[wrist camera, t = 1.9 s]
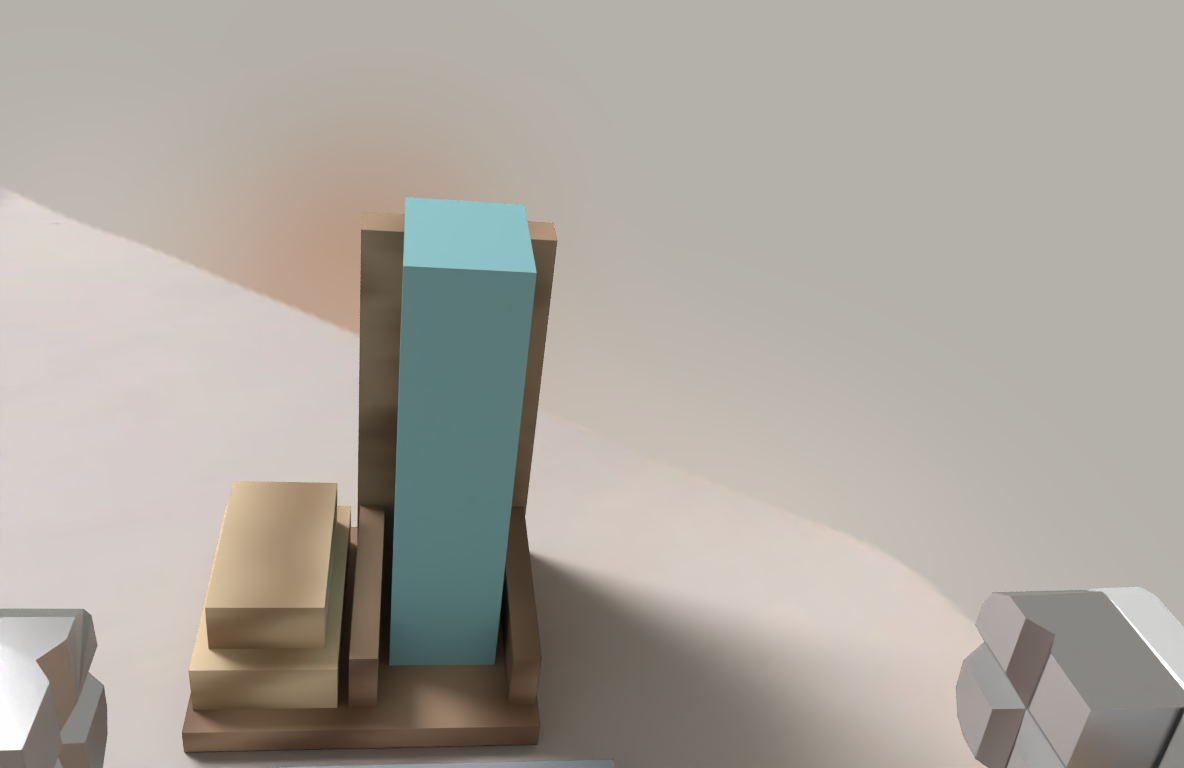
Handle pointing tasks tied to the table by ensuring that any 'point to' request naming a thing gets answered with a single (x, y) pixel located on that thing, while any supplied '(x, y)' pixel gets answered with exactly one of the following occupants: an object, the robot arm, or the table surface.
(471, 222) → the tall teal block
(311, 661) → the lower oak offcut
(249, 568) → the upper oak offcut
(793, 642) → the table surface
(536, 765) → the slate mat
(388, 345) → the walnut rack
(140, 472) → the table surface
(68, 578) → the table surface
